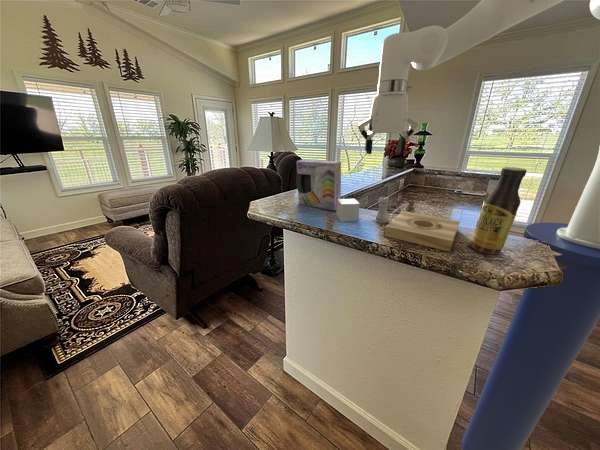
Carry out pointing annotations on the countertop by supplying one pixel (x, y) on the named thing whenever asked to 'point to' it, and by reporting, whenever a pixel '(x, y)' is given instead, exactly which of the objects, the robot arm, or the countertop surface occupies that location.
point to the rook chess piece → (382, 211)
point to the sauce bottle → (498, 212)
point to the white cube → (348, 209)
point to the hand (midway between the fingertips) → (384, 153)
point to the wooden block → (423, 230)
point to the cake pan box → (319, 183)
